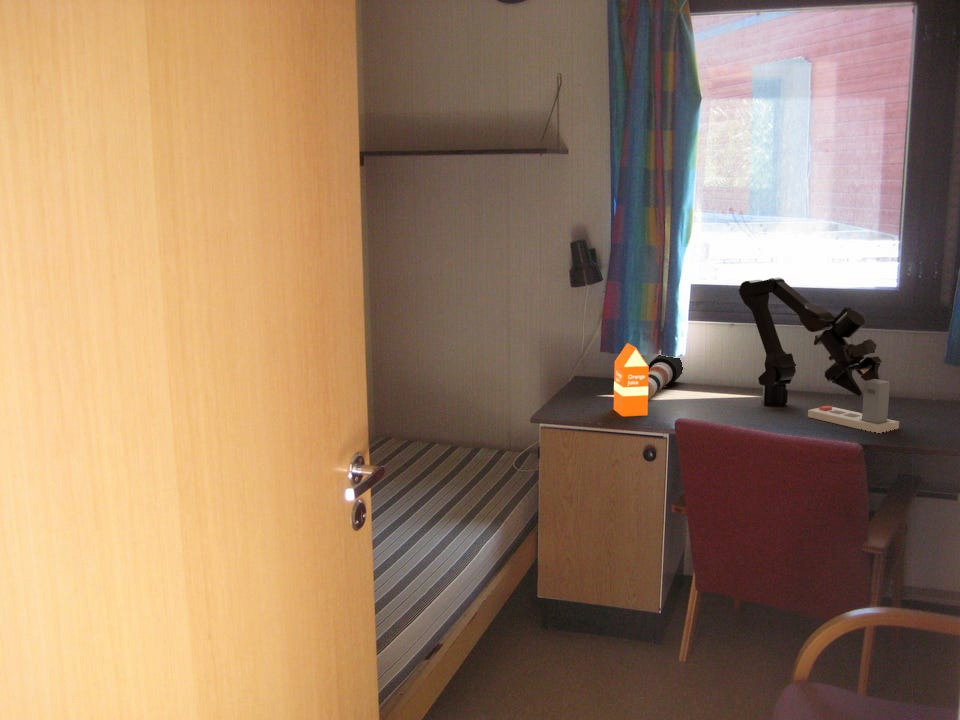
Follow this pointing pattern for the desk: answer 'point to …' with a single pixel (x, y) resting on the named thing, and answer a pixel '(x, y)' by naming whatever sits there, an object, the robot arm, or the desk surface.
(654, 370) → the telephoto camera lens
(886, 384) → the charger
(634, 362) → the orange juice
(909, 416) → the desk surface
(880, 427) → the power strip
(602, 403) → the desk surface
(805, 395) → the desk surface
